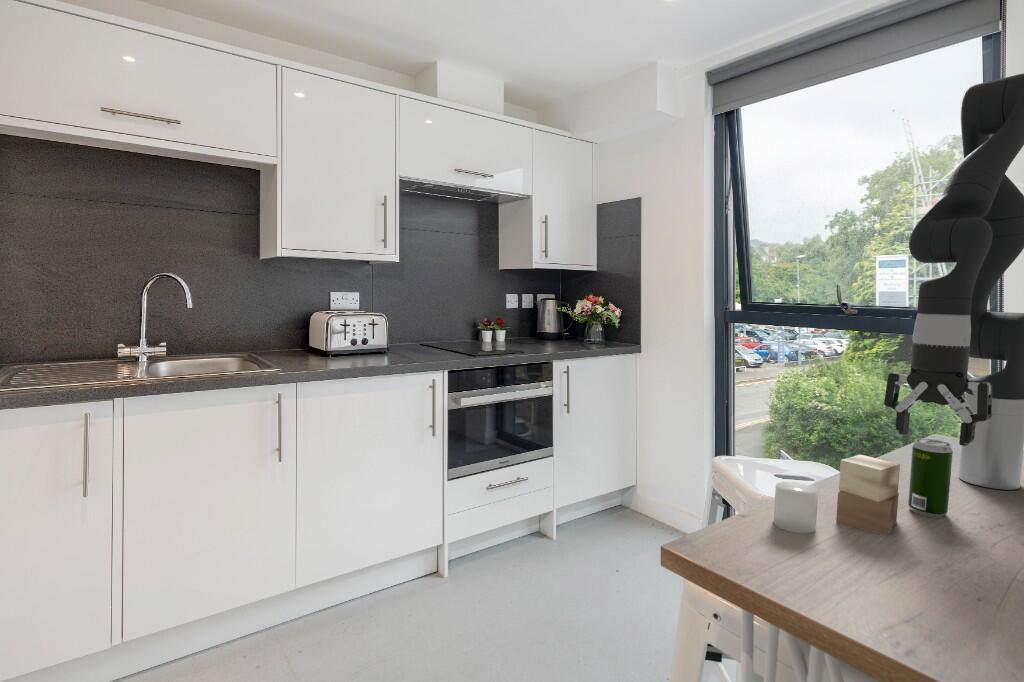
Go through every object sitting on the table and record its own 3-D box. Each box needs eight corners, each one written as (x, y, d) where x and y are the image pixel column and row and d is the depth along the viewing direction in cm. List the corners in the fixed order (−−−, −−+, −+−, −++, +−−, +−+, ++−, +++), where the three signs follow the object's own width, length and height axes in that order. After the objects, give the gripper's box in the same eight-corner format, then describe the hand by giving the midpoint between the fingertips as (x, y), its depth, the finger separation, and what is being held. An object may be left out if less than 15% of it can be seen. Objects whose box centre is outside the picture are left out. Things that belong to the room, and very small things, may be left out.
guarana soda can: (939, 521, 92) (945, 448, 91) (902, 510, 97) (907, 440, 96) (952, 514, 95) (958, 443, 94) (916, 504, 100) (921, 436, 99)
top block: (858, 483, 96) (860, 454, 95) (897, 494, 90) (900, 464, 90) (838, 490, 92) (840, 459, 92) (878, 501, 87) (880, 470, 87)
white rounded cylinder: (785, 514, 94) (787, 479, 94) (823, 527, 90) (825, 490, 89) (766, 523, 91) (768, 486, 90) (803, 537, 86) (806, 498, 85)
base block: (847, 511, 97) (849, 482, 96) (896, 522, 92) (898, 492, 91) (836, 523, 92) (838, 492, 91) (887, 536, 87) (889, 504, 86)
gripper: (1003, 345, 90) (993, 446, 91) (900, 338, 101) (893, 428, 103) (988, 346, 86) (978, 452, 87) (882, 339, 97) (875, 433, 98)
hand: (932, 439), depth 95 cm, fingers open, 8 cm apart
